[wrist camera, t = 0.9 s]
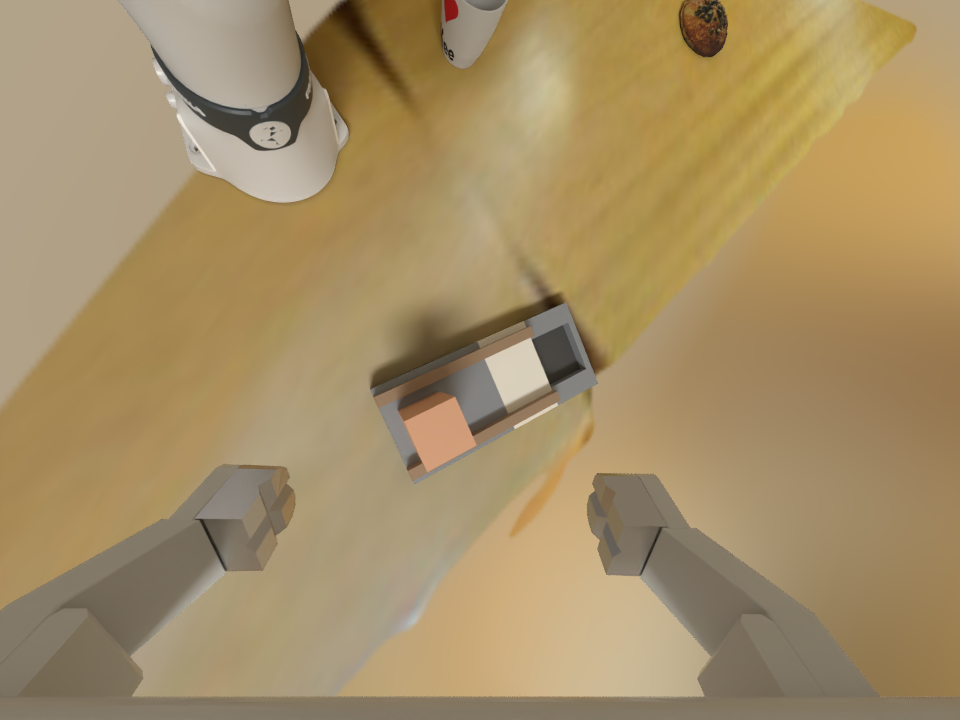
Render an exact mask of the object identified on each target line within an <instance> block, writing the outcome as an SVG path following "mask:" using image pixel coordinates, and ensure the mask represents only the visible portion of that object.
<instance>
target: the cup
mask: <svg viewBox="0 0 960 720" xmlns="http://www.w3.org/2000/svg"><path fill="white" fill-rule="evenodd" d="M507 1H508V0H442V10H441V37H442V47H443V53H444V55H445V57H446V59H447V60H448V61H449V62H450V63H451V64H452V65H454V66H455V67H458V68H462V69H464V68H468V67H470V66H471V65H472V64H473V63H474V62H475V61H476V59H477V58H478V57H479V56H480V55H481V53H482V52H483V50H484V49H485V47H486V45H487V43H488V42H489V40H490V38H491V36H492V35H493V33H494V31H495V29H496V26H497V24H498V22H499V20H500V17H501V15H502V13H503V10H504V8H505V6H506V3H507Z"/></svg>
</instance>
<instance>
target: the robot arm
mask: <svg viewBox="0 0 960 720" xmlns="http://www.w3.org/2000/svg"><path fill="white" fill-rule="evenodd" d="M118 1H119V2H120V3H121V5H122V6H123V7H124V9H125V10H126V11H127V13H128V14H129V15H130V17H131V18H132V19H133V20H134V22H135V23H136V24H137V26H138V27H139V29H140V30H141V31H142V33H143V34H144V35H145V37H146V38H147V40H148V41H149V42H150V44H151V48H152V51H153V53H154V56H155V57H154V58H152V62H153V65H154V68H155V70H156V72H157V74H158V76H159V78H160V80H161V81H162V83H163V84H164V85H167V86H171V90H172V91H166V97H167V99H168V101H169V103H170V105H171V106H172V107H173V108H176V110H177V114H176V116H177V118H178V120H179V122H180V126H181V130H182V134H183V138H184V142H185V146H186V150H187V154H188V157H189V160H190V162H191V163H192V165H193V166H194V167H195V168H196V169H197V170H198V171H200V172H203V173H205V174H208V175H212V176H215V177H219V178H223V179H225V180H227V181H228V182H230V183H231V184H233V185H234V186H236V187H237V188H239V189H240V190H242V191H244V192H245V193H247V194H249V195H252V196H254V197H256V198H259V199H263V200H267V201H272V202H295V201H300V200H303V199H306V198H308V197H311V196H313V195H314V194H316V193H317V192H319V191H320V190H321V189H322V188H323V187H324V186H325V185H326V184H327V183H328V182H329V180H330V178H331V177H332V175H333V172H334V169H335V166H336V161H337V156H338V153H339V151H340V150H341V149H342V148H343V146H344V145H345V144H346V142H347V141H348V139H349V131H348V128H347V126H346V124H345V122H344V121H343V119H342V118H341V116H340V115H339V113H338V112H337V110H336V109H335V107H334V106H333V104H332V103H331V101H330V99H329V95H328V93H327V90H326V89H325V88H322V87H321V85H320V83H319V82H318V80H317V79H316V77H315V76H314V74H313V73H312V72H311V70H310V66H309V62H308V58H307V55H306V53H305V51H304V47H303V44H302V42H301V39H300V37H299V35H298V34H297V32H296V30H295V27H294V23H293V18H292V14H291V10H290V6H289V1H288V0H118ZM335 123H337V124H335ZM198 149H199V150H200V152H197V150H198ZM289 478H290V476H289V473H288V470H287V468H285V467H281V466H260V465H231V464H223V465H221V466H219V467H217V468H216V469H215V470H214V471H213V472H212V473H211V474H210V475H209V476H208V477H207V478H206V479H205V481H204V482H203V483H202V484H201V485H200V486H199V487H198V488H197V489H196V490H195V491H194V492H193V493H192V495H191V496H190V497H189V498H188V499H187V500H186V501H185V502H184V503H183V504H182V505H181V506H180V507H179V509H178V510H177V511H176V512H175V513H174V514H173V515H172V516H171V517H170V518H169V519H161V520H159V521H158V522H156V523H154V524H152V525H150V526H149V527H147V528H145V529H143V530H141V531H140V532H138V533H136V534H134V535H132V536H131V537H129V538H127V539H125V540H123V541H122V542H120V543H118V544H116V545H114V546H113V547H111V548H109V549H107V550H105V551H104V552H102V553H100V554H98V555H96V556H95V557H93V558H91V559H89V560H87V561H86V562H84V563H82V564H80V565H78V566H77V567H75V568H73V569H71V570H69V571H67V572H66V573H64V574H62V575H60V576H58V577H57V578H55V579H53V580H51V581H49V582H48V583H46V584H44V585H42V586H40V587H39V588H37V589H35V590H33V591H31V592H30V593H28V594H26V595H24V596H22V597H21V598H19V599H17V600H15V601H13V602H12V603H10V604H8V605H6V606H5V607H4V608H3V609H2V610H1V611H0V720H960V697H880V696H879V694H878V693H877V692H876V691H875V689H874V688H873V687H872V686H871V684H870V683H869V682H868V681H867V679H866V678H865V677H864V676H863V675H862V673H861V672H860V671H859V669H858V668H857V667H856V666H855V664H854V663H853V662H852V661H851V659H850V658H849V657H848V656H847V654H846V653H845V652H844V650H843V649H842V648H841V647H840V645H839V644H838V643H837V642H836V640H835V639H834V638H833V637H832V635H831V634H830V633H829V632H828V630H827V629H826V628H825V627H824V625H823V624H822V623H821V622H820V620H819V619H818V618H817V617H816V615H815V614H814V613H813V612H812V611H810V610H809V609H807V608H806V607H805V606H803V605H802V604H800V603H799V602H797V601H796V600H795V599H793V598H792V597H791V596H789V595H788V594H787V593H785V592H784V591H782V590H781V589H780V588H778V587H777V586H775V585H774V584H773V583H771V582H770V581H769V580H767V579H766V578H764V577H763V576H762V575H760V574H759V573H757V572H756V571H755V570H753V569H752V568H751V567H749V566H748V565H747V564H745V563H744V562H742V561H741V560H740V559H738V558H737V557H735V556H734V555H733V554H731V553H729V551H727V550H726V549H724V548H723V547H722V546H720V545H719V544H717V543H716V542H715V541H713V540H712V539H711V538H709V537H708V536H706V535H705V534H703V533H702V532H701V531H699V530H698V529H697V528H690V527H689V525H688V523H687V522H686V520H685V519H684V517H683V516H682V514H681V512H680V511H679V509H678V508H677V506H676V505H675V503H674V502H673V500H672V498H671V497H670V495H669V494H668V492H667V491H666V489H665V488H664V486H663V484H662V483H661V481H660V480H659V479H658V477H657V476H656V475H654V474H614V473H613V474H612V473H597V474H596V475H595V477H594V480H593V483H592V484H593V486H594V489H595V491H594V492H593V493H592V494H591V495H589V499H588V503H587V516H588V521H589V525H590V528H591V531H592V533H593V534H594V535H595V536H596V537H597V538H598V539H599V540H600V542H599V545H598V552H599V555H600V558H601V561H602V563H603V566H604V569H605V572H606V575H623V576H641V579H642V581H643V582H644V583H645V584H646V585H647V586H648V587H649V588H650V589H651V591H652V592H653V593H654V594H655V595H656V596H657V597H658V598H659V599H660V601H662V603H663V604H664V605H665V606H666V607H667V608H668V609H669V610H670V612H671V613H672V614H673V615H674V616H675V617H676V618H677V619H678V620H679V622H680V623H681V624H682V625H683V626H684V627H685V628H686V629H687V630H688V632H689V633H690V634H691V635H692V636H693V637H694V638H695V639H696V640H697V641H698V643H699V644H700V645H701V646H702V647H703V648H704V649H705V650H706V651H707V653H708V654H709V655H710V656H711V658H710V659H709V661H708V662H707V663H706V664H705V666H704V667H703V669H702V670H701V671H700V674H699V676H698V682H699V684H700V686H701V688H702V690H703V693H704V695H705V697H131V696H132V694H133V693H134V691H135V690H136V688H137V687H138V685H139V684H140V682H141V681H142V679H143V671H142V670H141V669H140V667H139V666H138V665H137V664H136V663H135V662H134V661H133V660H132V658H131V657H130V656H131V655H132V654H133V653H134V652H136V651H137V650H138V649H139V648H140V647H141V646H143V645H144V644H145V643H146V642H147V641H148V640H149V639H151V638H152V637H153V636H154V635H155V634H156V633H158V632H159V631H160V630H161V629H162V628H163V627H164V626H166V625H167V624H168V623H169V622H170V621H171V620H173V619H174V618H175V617H176V616H177V615H178V614H179V613H181V612H182V611H183V610H184V609H185V608H186V607H188V606H189V605H190V604H191V603H192V602H193V601H195V600H196V599H197V598H198V597H199V596H200V595H201V594H203V593H204V592H205V591H206V590H207V589H208V588H210V587H211V586H212V585H213V584H214V583H215V582H216V581H218V580H219V579H220V578H221V577H222V576H223V575H225V573H226V572H225V571H263V569H264V568H265V566H266V564H267V562H268V560H269V559H270V557H271V555H272V553H273V551H274V550H275V548H276V546H277V544H278V543H277V539H276V535H277V534H279V533H280V532H281V531H283V530H284V529H285V528H287V526H288V524H289V522H290V520H291V518H292V516H293V512H294V509H295V493H294V490H293V489H292V488H291V487H290V486H289V485H287V484H286V483H287V481H288V479H289Z"/></svg>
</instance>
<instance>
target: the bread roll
mask: <svg viewBox="0 0 960 720" xmlns="http://www.w3.org/2000/svg"><path fill="white" fill-rule="evenodd" d="M726 16H727V15H726V13H725V9H724V7H723V5H721V4H720V1H719V0H689V1H687V2H685V3H684V6H683V8H682V11H681V14H680V26H681V30H682V33H683V36H684V40H685V41H686V42H687V44H688V45H689V46H690V47H691V48H692V50H693V51H695V53H698V55H701V56H703V57H712V56H714V55H715V54H717V53H718V52H719V51H720V50H721V49H722V48H723V45H724V44H725V40H726V37H727V27H728V21H727V17H726Z"/></svg>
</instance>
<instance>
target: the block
mask: <svg viewBox="0 0 960 720" xmlns="http://www.w3.org/2000/svg"><path fill="white" fill-rule="evenodd" d="M398 413H399V415H400V417H401V419H402V422H403V424H404V426H405V428H406V430H407V432H408V434H409V437H410V439H411V441H412V443H413V445H414V447H415V450H416V452H417V454H418V455H419V457H420V459H421V461H422V463H423V465H424V467H425V469H426V471H427V472H429V471H431V470H433V469H434V468H436V467H438V466H440V465H442V464H444V463H445V462H447V461H449V460H451V459H453V458H455V457H456V456H458V455H460V454H462V453H464V452H466V451H467V450H469V449H471V448H473V447H475V446H477V445H476V443H475V440H474V438H473V436H472V434H471V431H470V429H469V427H468V425H467V422H466V420H465V418H464V416H463V413H462V411H461V409H460V406H459V404H458V402H457V400H456V397H455V396H452V395H449V394H446V393H442V392H439V391H438V392H435V393H433V394H431V395H429V396H427V397H425V398H423V399H421V400H419V401H416V402H414V403H412V404H410V405H408V406H406V407H404V408H402V409H400V410H398Z"/></svg>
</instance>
